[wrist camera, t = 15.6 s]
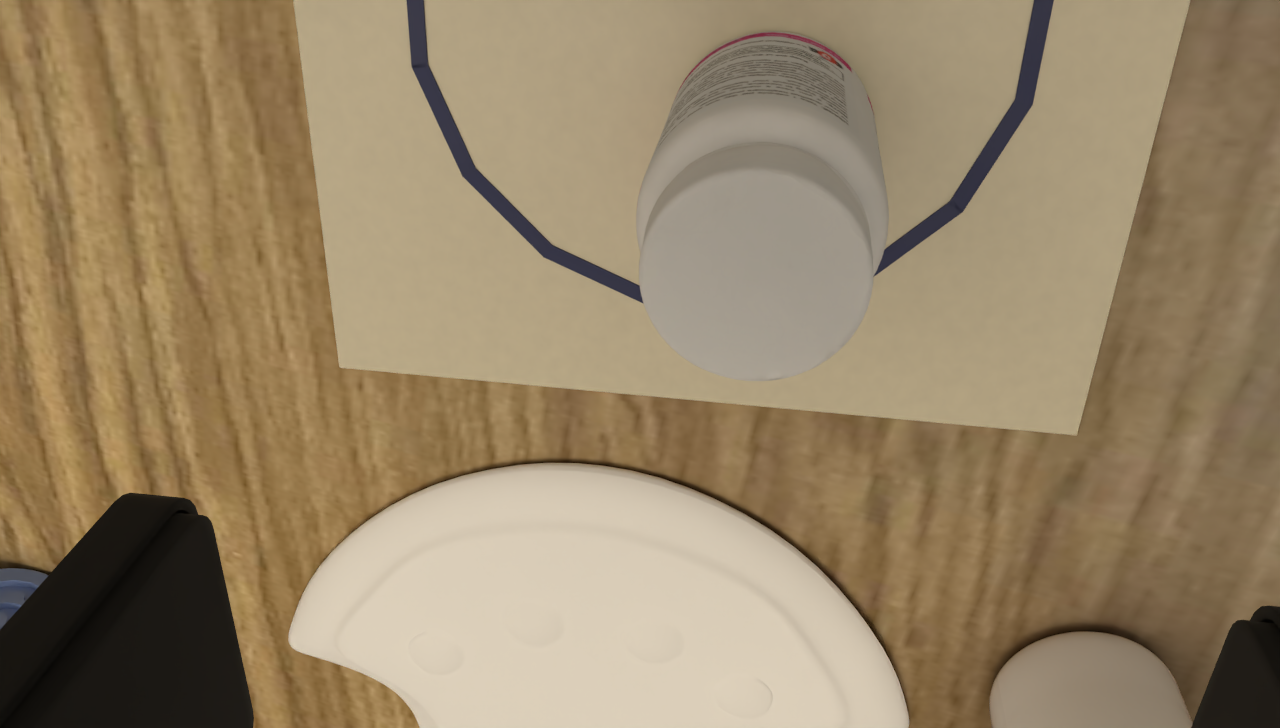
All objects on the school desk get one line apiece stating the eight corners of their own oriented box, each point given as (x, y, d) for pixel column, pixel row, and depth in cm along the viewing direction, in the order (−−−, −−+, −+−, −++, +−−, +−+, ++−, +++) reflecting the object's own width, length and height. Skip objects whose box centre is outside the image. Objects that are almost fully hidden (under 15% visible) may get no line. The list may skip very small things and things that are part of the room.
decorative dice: (-12, 637, 38) (-94, 724, 35) (-20, 552, 37) (-106, 636, 33) (97, 668, 39) (27, 758, 35) (96, 585, 37) (21, 672, 33)
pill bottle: (629, 110, 26) (557, 249, 19) (795, -18, 24) (787, 80, 17) (748, 261, 27) (725, 445, 20) (914, 151, 25) (955, 310, 18)
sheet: (231, -543, 21) (222, -547, 21) (1327, -543, 19) (1335, -548, 19) (342, 363, 31) (337, 369, 31) (1074, 430, 29) (1077, 437, 28)
